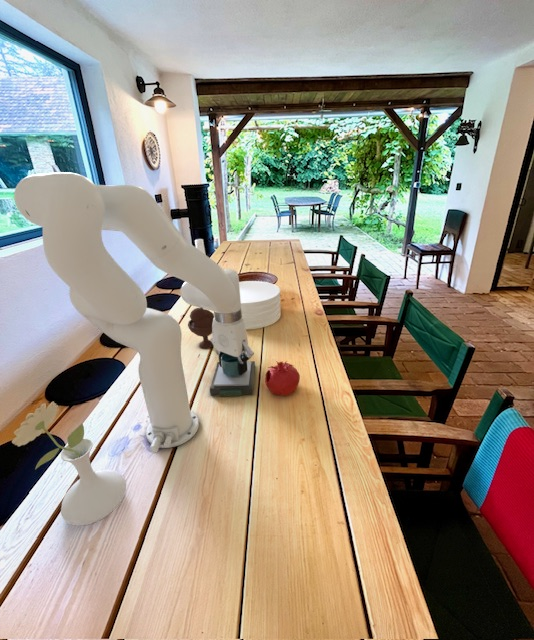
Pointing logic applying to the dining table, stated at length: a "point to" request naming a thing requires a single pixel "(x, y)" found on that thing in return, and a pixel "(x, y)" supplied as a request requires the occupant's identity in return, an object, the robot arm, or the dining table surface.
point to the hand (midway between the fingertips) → (233, 368)
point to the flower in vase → (93, 486)
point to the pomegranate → (282, 379)
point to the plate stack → (259, 303)
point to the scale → (233, 382)
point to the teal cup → (230, 364)
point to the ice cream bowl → (202, 325)
